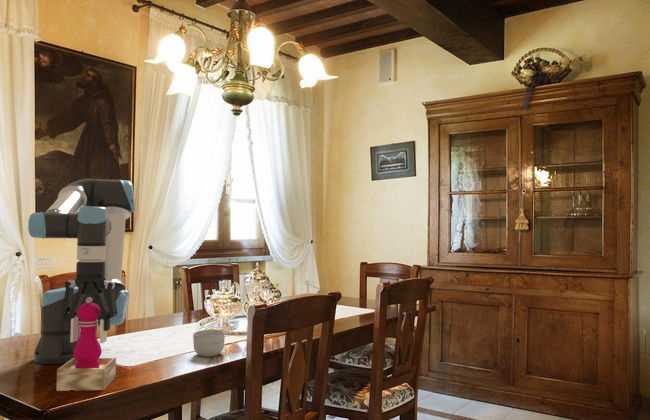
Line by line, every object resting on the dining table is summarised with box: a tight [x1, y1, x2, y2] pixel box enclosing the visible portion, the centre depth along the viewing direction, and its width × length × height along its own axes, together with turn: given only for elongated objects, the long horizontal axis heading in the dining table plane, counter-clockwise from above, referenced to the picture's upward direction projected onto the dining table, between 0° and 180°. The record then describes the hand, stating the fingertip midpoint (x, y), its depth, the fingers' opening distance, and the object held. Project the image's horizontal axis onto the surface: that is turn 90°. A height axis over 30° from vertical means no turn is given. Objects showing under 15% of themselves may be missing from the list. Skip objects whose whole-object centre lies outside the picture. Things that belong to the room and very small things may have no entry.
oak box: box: [56, 357, 117, 392], centre depth 150 cm, size 12×12×6 cm
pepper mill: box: [74, 297, 103, 368], centre depth 151 cm, size 7×7×20 cm
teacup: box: [192, 328, 225, 358], centre depth 187 cm, size 14×11×8 cm
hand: (88, 341), depth 151 cm, fingers open, 8 cm apart
